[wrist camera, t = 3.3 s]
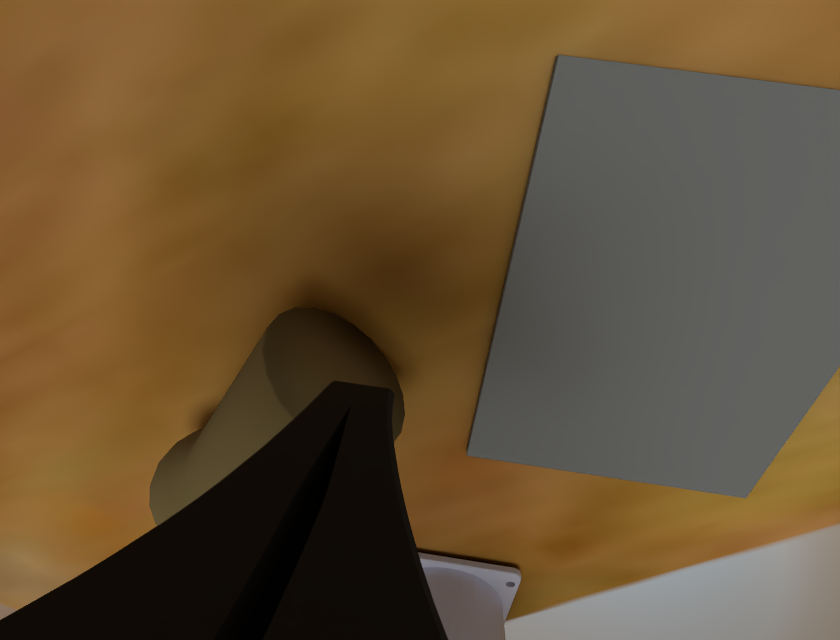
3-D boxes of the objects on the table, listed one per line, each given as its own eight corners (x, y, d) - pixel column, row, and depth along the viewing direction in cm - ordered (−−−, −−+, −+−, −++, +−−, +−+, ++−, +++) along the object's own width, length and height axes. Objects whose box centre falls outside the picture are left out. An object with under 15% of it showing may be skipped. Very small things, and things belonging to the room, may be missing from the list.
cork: (291, 281, 16) (169, 420, 20) (232, 395, 11) (90, 544, 16) (406, 362, 18) (274, 470, 23) (401, 486, 13) (234, 591, 18)
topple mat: (740, 490, 19) (746, 498, 19) (466, 449, 20) (466, 455, 19) (1003, 112, 12) (1019, 113, 12) (556, 56, 12) (558, 54, 12)
